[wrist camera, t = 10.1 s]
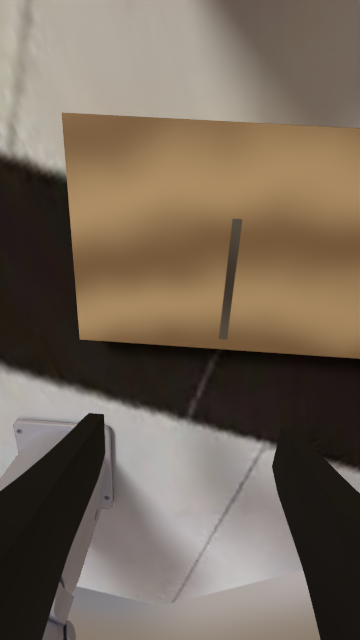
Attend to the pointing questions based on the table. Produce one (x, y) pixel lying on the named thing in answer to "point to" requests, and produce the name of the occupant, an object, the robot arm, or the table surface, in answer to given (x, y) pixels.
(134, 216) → the oak board
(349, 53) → the table surface
